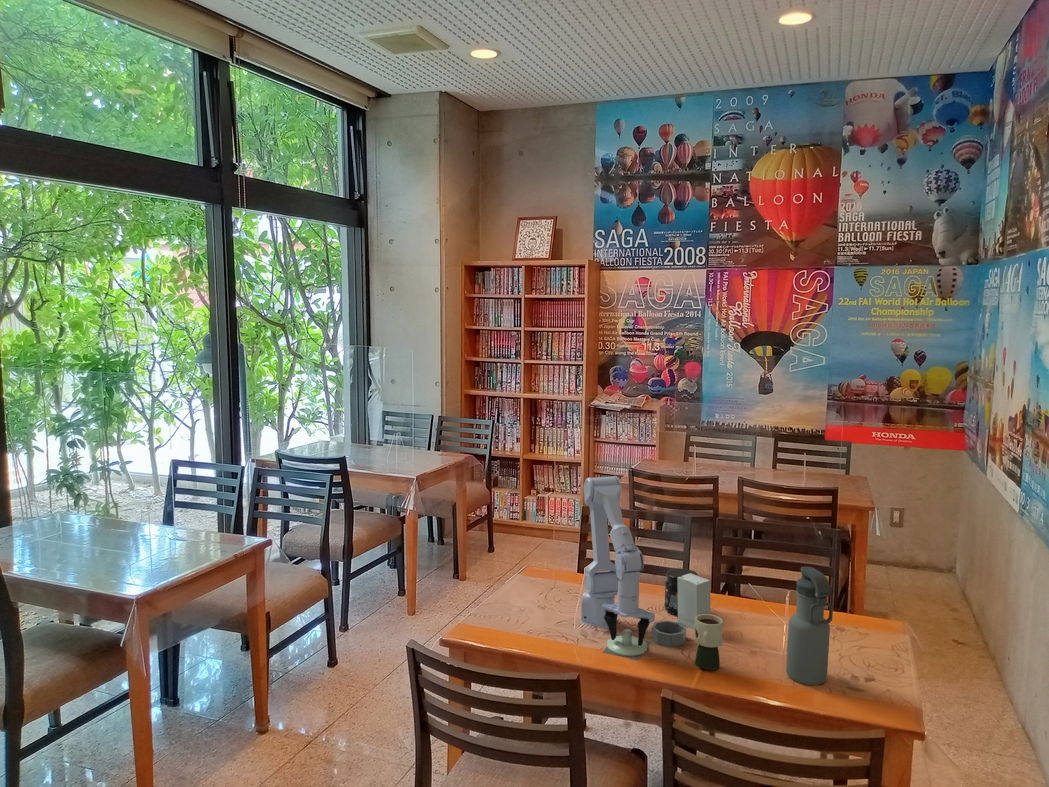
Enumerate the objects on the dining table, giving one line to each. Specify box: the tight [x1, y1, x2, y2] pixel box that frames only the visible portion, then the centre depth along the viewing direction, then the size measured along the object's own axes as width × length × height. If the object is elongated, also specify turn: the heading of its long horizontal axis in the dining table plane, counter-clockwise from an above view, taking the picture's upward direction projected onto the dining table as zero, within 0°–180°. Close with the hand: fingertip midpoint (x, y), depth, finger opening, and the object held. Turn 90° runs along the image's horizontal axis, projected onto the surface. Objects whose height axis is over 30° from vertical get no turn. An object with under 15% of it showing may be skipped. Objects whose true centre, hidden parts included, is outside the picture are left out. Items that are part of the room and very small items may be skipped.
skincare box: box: [677, 573, 711, 631], centre depth 215 cm, size 8×6×15 cm
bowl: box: [650, 620, 687, 648], centre depth 205 cm, size 9×9×4 cm
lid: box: [606, 628, 648, 656], centre depth 200 cm, size 11×11×4 cm
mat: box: [602, 634, 651, 661], centre depth 201 cm, size 10×12×1 cm
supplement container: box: [663, 567, 699, 616], centre depth 226 cm, size 10×10×12 cm
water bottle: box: [785, 566, 834, 686], centre depth 184 cm, size 10×10×28 cm
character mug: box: [694, 613, 724, 670], centre depth 190 cm, size 11×7×13 cm, turn 156°
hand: (627, 641), depth 200 cm, fingers open, 7 cm apart
